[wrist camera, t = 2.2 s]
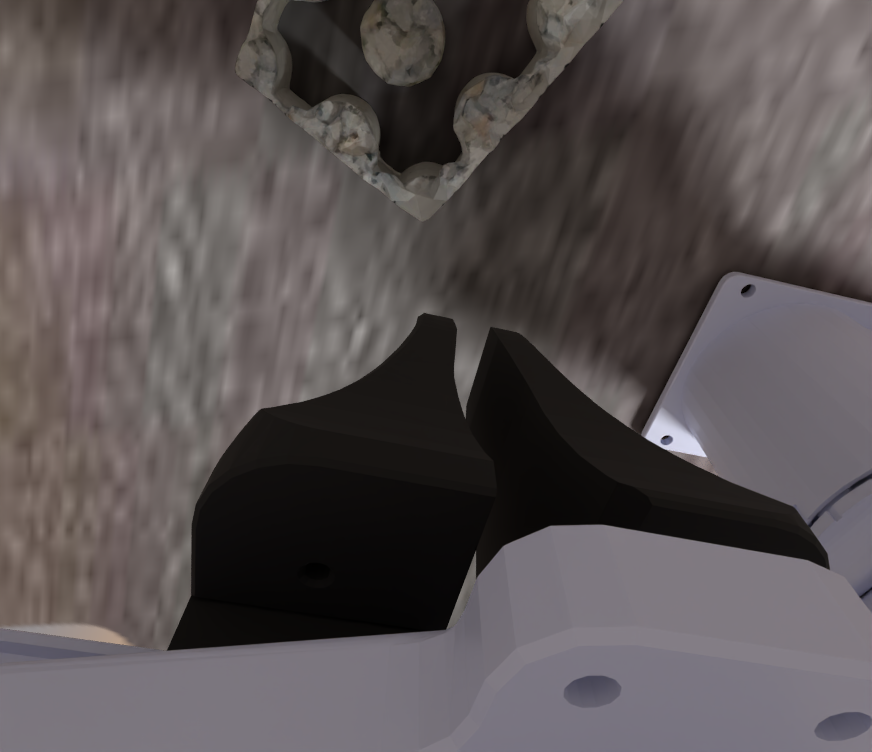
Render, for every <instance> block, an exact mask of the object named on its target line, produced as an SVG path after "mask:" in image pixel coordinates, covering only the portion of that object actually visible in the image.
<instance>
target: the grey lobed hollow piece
mask: <svg viewBox="0 0 872 752" xmlns="http://www.w3.org/2000/svg"><path fill="white" fill-rule="evenodd" d="M289 1H290V0H258V1H257V4H256V7H255V11H254V15H253V19H252V23H251V27H250V30H249V33H248V36H247V39H246V40H245V42H244V43H243V45H242V47H241V49H240V52H239V55H238V58H237V61H236V66H235V73H236V74H237V75H238V76H239V77H240V78H241V79H243V80H244V81H245V82H246V83H248V84H249V85H250V86H252V87H254V88H255V89H257V90H258V91H259V92H260V93H262V94H263V95H264V96H265V97H267V98H268V99H269V100H270V101H271V102H273V103H274V104H275V105H276V106H277V107H279V108H280V109H281V110H282V111H283V112H284V113H285V115H286V116H287V117H289V118H290V119H291V120H292V121H293V122H294V123H296V124H297V125H299V126H300V127H301V128H303V129H304V130H305V131H306V132H308V133H309V134H310V135H311V136H313V137H314V138H315V139H316V140H317V141H318V142H320V143H321V144H322V145H323V146H324V147H325V148H327V149H328V150H329V151H330V152H331V153H332V154H334V155H335V156H336V157H338V158H339V159H340V160H341V161H343V162H344V163H345V164H346V165H347V166H348V167H350V168H351V169H352V170H353V171H354V172H356V173H357V174H358V175H359V176H360V177H361V178H362V179H363V180H365V181H367V182H368V183H369V184H370V185H372V186H374V187H375V188H377V189H378V190H380V191H381V192H382V193H383V194H385V195H386V196H387V197H388V198H389V199H390V200H391V201H392V202H394V203H395V204H396V205H397V206H399V207H400V208H401V209H403V210H404V211H406V212H408V213H409V214H411V215H412V216H414V217H415V218H417V219H418V220H420V221H421V222H423V221H425V220H428V219H430V218H431V217H432V216H433V215H434V214H435V213H436V212H437V211H438V210H439V209H440V208H441V207H442V206H443V205H444V204H445V203H446V202H447V200H448V199H449V198H450V197H451V196H452V195H453V194H454V193H455V192H456V191H457V190H458V189H459V188H460V187H461V185H462V184H463V183H464V182H465V181H466V180H467V179H468V177H469V176H470V175H471V173H472V172H473V171H474V169H475V168H476V167H477V166H478V165H479V164H480V163H481V161H482V160H483V159H484V158H485V157H486V156H487V155H488V154H489V153H490V152H491V151H493V150H494V149H495V147H496V146H497V145H498V143H499V141H500V140H501V139H502V138H503V137H504V136H505V135H506V134H507V133H508V131H509V130H510V129H511V128H512V127H513V126H514V125H515V124H517V123H518V122H519V121H520V120H521V119H522V118H523V117H524V116H525V115H526V113H527V112H528V111H529V110H530V109H531V108H532V107H533V105H534V104H535V103H536V102H537V100H538V99H539V98H540V97H541V95H542V94H543V93H544V91H545V90H546V89H547V88H548V86H549V85H550V84H551V83H552V82H553V81H554V80H555V79H556V77H557V76H558V75H559V74H560V73H561V72H562V71H563V70H564V69H565V68H566V66H567V65H568V64H569V63H570V62H571V61H572V59H573V58H574V57H575V56H576V54H577V53H578V52H579V51H580V49H581V48H582V47H583V46H584V44H585V43H586V42H587V41H588V40H589V39H590V38H591V37H592V36H593V35H594V34H595V33H596V32H597V31H598V30H599V29H600V28H601V26H602V25H603V24H604V23H605V22H606V21H607V19H608V18H609V17H610V16H611V15H612V13H613V12H614V11H615V10H616V9H617V8H618V6H619V5H620V4H621V3H622V2H623V0H529V3H528V6H527V16H526V21H527V26H528V27H527V28H528V32H529V34H530V36H531V39H532V41H533V43H534V46H535V48H536V50H537V51H536V54H535V55H534V57H533V59H532V60H531V61H530V63H529V64H528V65H527V66H526V68H525V69H524V71H523V72H522V73H521V74H520V76H519V77H517V78H515V79H514V78H512V77H509V76H507V75H505V74H501V73H484V74H481V75H478V76H476V77H474V78H473V79H472V80H470V82H469V83H468V84H467V85H466V86H465V87H464V88H463V90H462V91H461V92H460V94H459V96H458V99H457V102H456V106H455V114H454V123H453V127H454V131H455V133H456V135H457V137H458V139H459V141H460V143H461V147H462V153H461V154H460V156H459V157H458V159H457V160H456V161H455V162H452V163H447V164H445V165H443V166H442V165H440V164H437V163H434V162H421V163H418V164H415V165H413V166H411V167H409V168H407V169H406V170H405V171H403V172H402V173H399V172H396V171H395V170H394V169H393V168H392V167H390V166H389V165H388V164H386V163H385V162H384V161H383V160H382V159H381V157H380V151H379V144H380V126H379V122H378V118H377V115H376V114H375V112H374V111H373V109H372V107H371V106H370V105H369V104H368V103H367V102H366V101H364V100H363V99H361V98H359V97H357V96H354V95H350V94H337V95H334V96H331V97H329V98H328V99H326V100H324V101H322V102H321V103H319V104H317V105H316V106H314V107H311V106H310V105H309V104H307V103H306V102H305V101H304V100H302V99H301V98H299V97H298V96H297V95H296V94H295V93H293V92H292V91H291V90H290V80H291V74H292V56H291V52H290V50H289V47H288V45H287V43H286V41H285V40H284V38H283V37H282V36H281V34H280V33H279V31H278V30H277V26H278V22H279V19H280V16H281V14H282V12H283V10H284V7H285V6H286V5H287V3H288V2H289ZM294 1H305V2H323V1H327V0H294ZM360 31H361V41H362V50H363V53H364V56H365V59H366V60H365V61H367V62H368V64H369V65H370V67H371V68H372V70H373V71H374V72H375V73H376V75H378V76H379V77H380V78H381V79H383V80H384V81H385V82H386V83H388V84H392V85H397V86H403V85H404V86H407V87H411V86H413V85H415V84H418V83H420V82H422V81H424V80H426V79H428V78H430V77H431V76H432V74H433V73H434V71H435V70H436V68H437V67H438V65H439V64H440V62H441V59H442V55H443V52H444V47H445V26H444V23H443V19H442V16H441V13H440V11H439V9H438V7H437V6H436V4H435V3H434V1H433V0H374V1H373V3H372V4H371V6H370V7H369V9H368V10H367V11H366V13H365V14H364V17H363V20H362V23H361V26H360Z"/></svg>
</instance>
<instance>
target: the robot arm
mask: <svg viewBox="0 0 872 752" xmlns="http://www.w3.org/2000/svg"><path fill="white" fill-rule="evenodd" d="M748 284H751V287H750V289H749V290H748V291H747V292H745V293H741V290H742V289H743V287H744V286H746V285H748ZM456 336H457V328H456V325H455V322H454V321H453V319H450V318H445V317H441V316H436V315H431V314H426V313H424V314H422V315H420V316H419V317H418V319H417V323H416V325H415V327H414V329H413V330H412V332H411V333H410V335H409V336H408V337H407V338H406V340H405V341H404V342H403V343H402V344H401V346H400V347H399V348H398V349H397V350H396V351H395V352H394V353H393V354H392V355H390V356H389V357H388V358H387V359H386V360H385V361H384V362H383V363H382V364H381V365H379V366H378V367H377V368H376V369H374V370H373V371H372V372H370V373H369V374H367V375H366V376H364V377H363V378H361V379H360V380H358V381H356V382H354V383H352V384H350V385H348V386H346V387H344V388H342V389H340V390H338V391H335V392H332V393H330V394H327V395H324V396H321V397H318V398H314V399H311V400H307V401H303V402H299V403H293V404H288V405H282V406H277V407H271V408H264V409H261V410H259V411H258V412H257V413H256V414H255V415H254V416H253V418H252V419H251V420H250V421H249V422H248V423H247V425H246V426H245V427H244V428H243V429H242V430H241V432H240V433H239V434H238V435H237V437H236V438H235V439H234V441H233V442H232V443H231V445H230V446H229V447H228V449H227V450H226V451H225V453H224V454H223V456H222V457H221V459H220V460H219V462H218V463H217V465H216V467H215V468H214V470H213V472H212V474H211V476H210V478H209V480H208V482H207V484H206V486H205V488H204V490H203V492H202V494H201V495H200V497H199V499H198V501H197V503H196V506H195V511H194V516H193V521H192V554H191V598H190V600H189V602H188V604H187V607H186V609H185V611H184V613H183V616H182V618H181V620H180V622H179V625H178V627H177V629H176V631H175V634H174V636H173V638H172V640H171V643H170V645H169V647H168V649H167V651H165V650H157V649H150V648H143V647H135V646H128V645H120V644H113V643H106V642H98V641H91V640H83V639H76V638H69V637H61V636H53V635H47V634H38V633H31V632H25V631H17V630H10V629H2V628H0V752H872V303H870V302H866V301H862V300H857V299H853V298H849V297H844V296H840V295H836V294H831V293H827V292H823V291H818V290H814V289H810V288H806V287H801V286H797V285H793V284H788V283H784V282H780V281H775V280H771V279H767V278H762V277H758V276H754V275H749V274H745V273H741V272H731V273H728V274H726V275H725V276H723V277H722V279H721V280H720V281H719V283H718V285H717V287H716V289H715V291H714V293H713V295H712V297H711V299H710V300H709V302H708V304H707V306H706V308H705V310H704V312H703V314H702V316H701V318H700V320H699V322H698V324H697V326H696V328H695V330H694V332H693V334H692V335H691V337H690V339H689V341H688V343H687V345H686V347H685V349H684V351H683V353H682V355H681V357H680V359H679V361H678V363H677V365H676V367H675V369H674V370H673V372H672V374H671V376H670V378H669V380H668V382H667V384H666V386H665V388H664V390H663V392H662V394H661V396H660V398H659V400H658V402H657V404H656V405H655V407H654V409H653V411H652V413H651V415H650V417H649V419H648V421H647V423H646V425H645V427H644V429H643V431H642V434H641V435H639V434H638V433H636V432H635V431H633V430H632V429H630V428H629V427H627V426H626V425H624V424H623V423H621V422H620V421H619V420H617V419H616V418H614V417H613V416H612V415H610V414H609V413H607V412H606V411H605V410H603V409H602V408H601V407H599V406H598V405H597V404H596V403H594V402H593V401H592V400H591V399H590V398H588V397H587V396H586V395H585V394H584V393H583V392H581V391H580V390H579V389H578V388H577V387H576V386H575V385H573V384H572V383H571V382H570V381H569V380H568V379H567V378H566V377H565V376H564V375H563V374H562V373H560V372H559V371H558V370H557V369H556V368H555V367H554V366H553V365H552V364H551V363H550V362H549V361H548V360H547V359H546V358H545V357H544V356H543V355H542V354H541V353H540V352H539V351H538V350H537V349H536V348H535V347H534V346H533V345H532V344H531V343H530V342H529V341H528V340H527V339H526V338H525V337H523V336H522V335H521V334H519V333H517V332H512V331H508V330H503V329H498V328H493V327H490V330H489V334H488V337H487V340H486V343H485V347H484V350H483V353H482V357H481V360H480V363H479V366H478V370H477V373H476V376H475V379H474V383H473V386H472V389H471V392H470V396H469V399H468V402H467V406H466V419H465V417H464V414H463V411H462V408H461V404H460V401H459V398H458V393H457V389H456V384H455V379H454V360H455V348H456ZM666 435H669V437H668V438H666V439H662V440H661V438H662V437H664V436H666ZM665 449H666V450H665ZM667 450H671V451H676V452H682V453H687V454H692V455H697V456H703V457H707V458H708V459H709V461H710V462H711V464H712V465H713V467H714V469H715V470H716V472H717V473H718V475H719V477H718V476H716V475H714V474H712V473H710V472H708V471H706V470H704V469H701V468H699V467H697V466H695V465H693V464H691V463H689V462H687V461H685V460H683V459H681V458H679V457H677V456H676V455H674V454H672V453H670V452H668V451H667ZM475 551H476V582H475V584H474V587H473V590H472V592H471V595H470V597H469V600H468V602H467V605H466V607H465V610H464V612H463V614H462V615H461V617H460V619H459V620H458V622H457V623H456V625H455V626H454V627H451V628H449V629H446V628H447V626H448V623H449V620H450V618H451V615H452V612H453V610H454V607H455V604H456V602H457V599H458V596H459V594H460V591H461V588H462V586H463V583H464V580H465V578H466V575H467V573H468V570H469V567H470V565H471V562H472V559H473V557H474V554H475Z"/></svg>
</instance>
